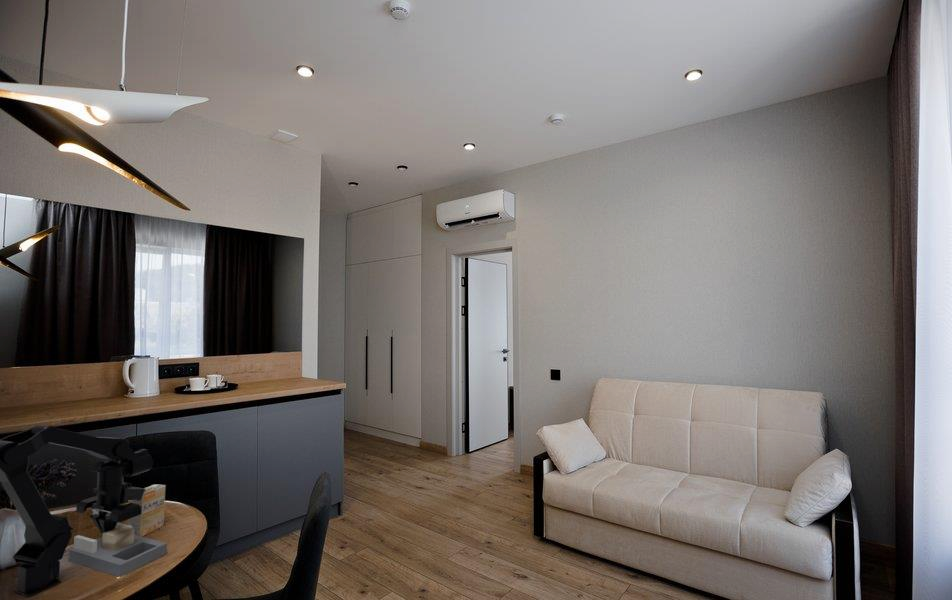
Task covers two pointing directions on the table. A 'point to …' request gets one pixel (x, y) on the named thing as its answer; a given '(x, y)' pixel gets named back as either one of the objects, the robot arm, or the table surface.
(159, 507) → the supplement box
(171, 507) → the table surface
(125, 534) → the birch block
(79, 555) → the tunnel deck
